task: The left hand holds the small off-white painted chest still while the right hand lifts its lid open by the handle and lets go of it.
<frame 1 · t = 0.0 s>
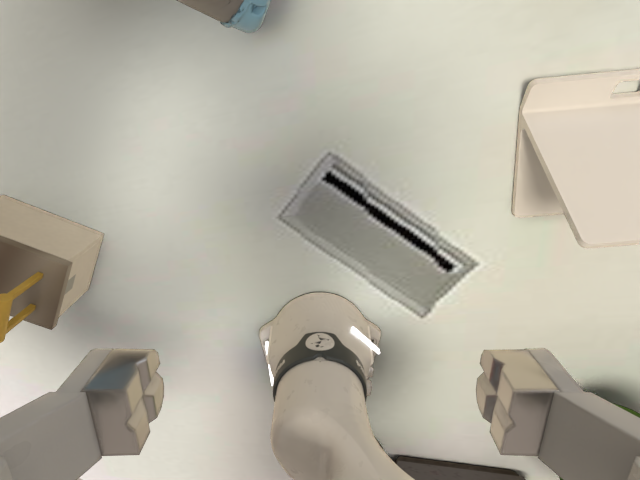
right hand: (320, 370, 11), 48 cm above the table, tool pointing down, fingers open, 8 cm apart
tablet stand: (611, 142, 56), on the table
chest: (47, 244, 61), on the table
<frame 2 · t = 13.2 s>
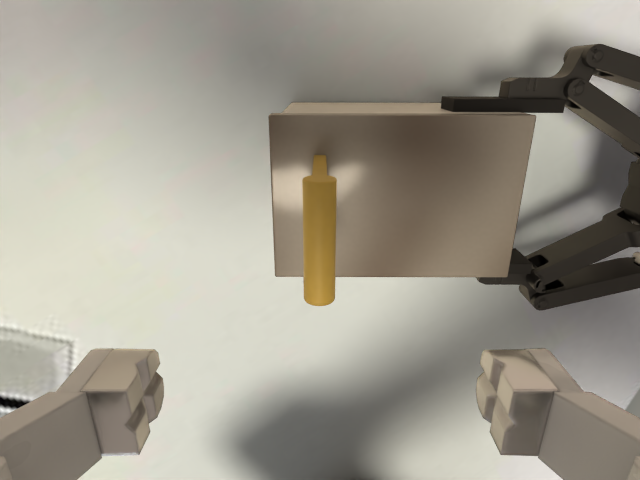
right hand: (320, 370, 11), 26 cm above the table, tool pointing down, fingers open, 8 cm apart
left hand: (438, 187, 28), fingers closed on chest, 10 cm apart
lid: (405, 218, 22), point 13 cm above the table, hinge at 0.0°
chest: (378, 165, 35), on the table, touching left hand
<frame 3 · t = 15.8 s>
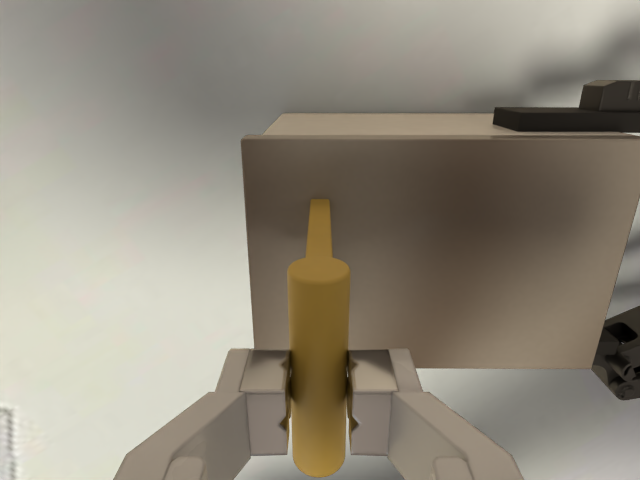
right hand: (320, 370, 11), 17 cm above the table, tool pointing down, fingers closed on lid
lid: (456, 304, 14), point 13 cm above the table, hinge at 0.0°, touching right hand
chest: (397, 195, 26), on the table, touching left hand
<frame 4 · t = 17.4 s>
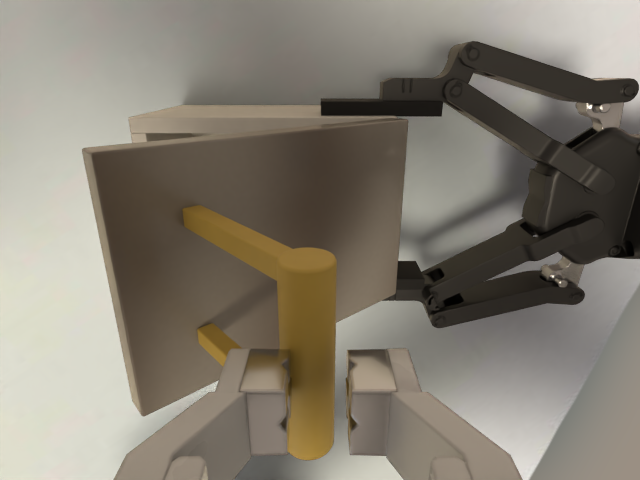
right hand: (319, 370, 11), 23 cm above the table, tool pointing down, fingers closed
left hand: (320, 197, 26), fingers closed on chest, 10 cm apart
lid: (342, 269, 16), point 17 cm above the table, hinge at 40.7°, touching right hand
chest: (280, 172, 33), on the table, touching left hand
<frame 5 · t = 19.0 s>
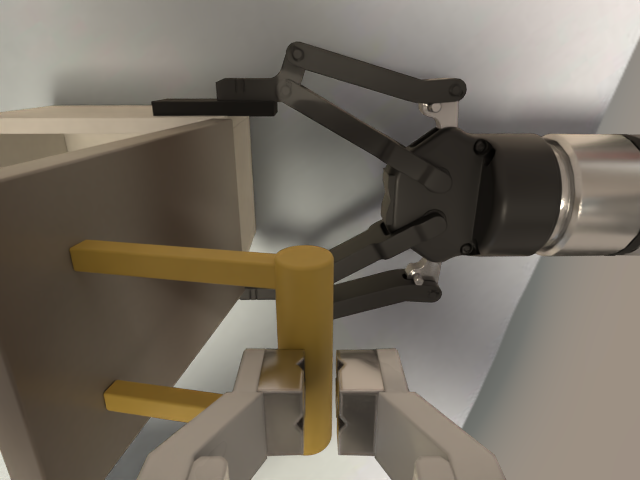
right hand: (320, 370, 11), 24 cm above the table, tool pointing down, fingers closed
left hand: (172, 197, 26), fingers closed on chest, 10 cm apart
lid: (244, 272, 16), point 18 cm above the table, hinge at 78.0°, touching right hand
chest: (160, 172, 33), on the table, touching left hand
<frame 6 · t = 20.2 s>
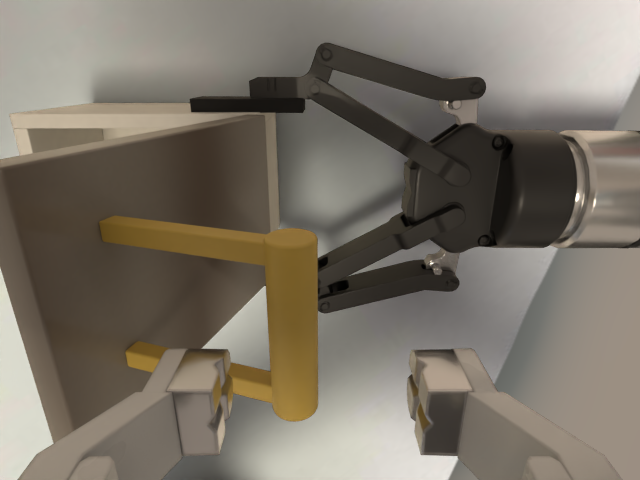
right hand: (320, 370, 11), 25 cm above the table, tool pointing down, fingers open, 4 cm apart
left hand: (205, 188, 28), fingers closed on chest, 10 cm apart
lid: (259, 255, 18), point 18 cm above the table, hinge at 71.4°
chest: (190, 166, 34), on the table, touching left hand
when the left hand's fingers open (7 cm above the table, at t = 23.1 s): chest stays where it is, on the table.
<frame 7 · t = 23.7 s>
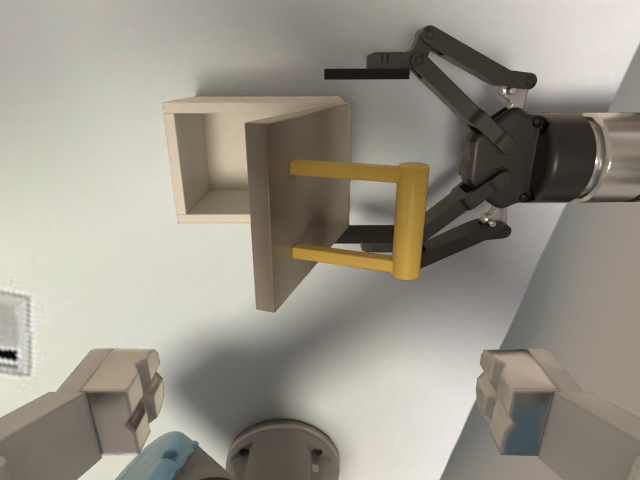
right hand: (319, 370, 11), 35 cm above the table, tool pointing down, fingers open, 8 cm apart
left hand: (323, 159, 36), fingers open, 13 cm apart
lid: (365, 194, 26), point 18 cm above the table, hinge at 70.6°
chest: (269, 147, 43), on the table
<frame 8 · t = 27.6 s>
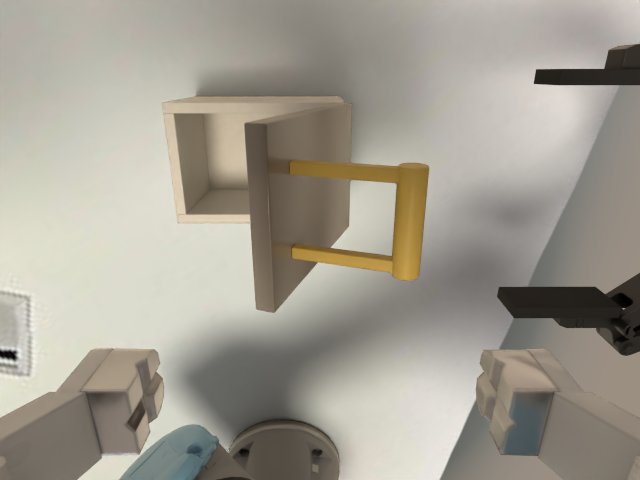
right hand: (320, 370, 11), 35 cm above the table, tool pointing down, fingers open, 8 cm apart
lid: (365, 194, 26), point 18 cm above the table, hinge at 70.6°
chest: (269, 147, 43), on the table
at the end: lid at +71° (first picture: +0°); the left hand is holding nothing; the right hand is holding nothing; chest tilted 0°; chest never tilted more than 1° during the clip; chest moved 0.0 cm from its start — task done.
